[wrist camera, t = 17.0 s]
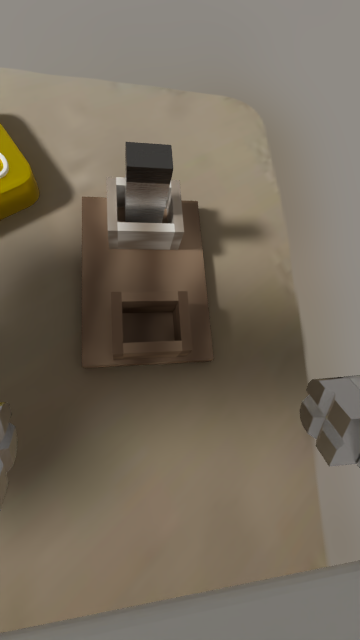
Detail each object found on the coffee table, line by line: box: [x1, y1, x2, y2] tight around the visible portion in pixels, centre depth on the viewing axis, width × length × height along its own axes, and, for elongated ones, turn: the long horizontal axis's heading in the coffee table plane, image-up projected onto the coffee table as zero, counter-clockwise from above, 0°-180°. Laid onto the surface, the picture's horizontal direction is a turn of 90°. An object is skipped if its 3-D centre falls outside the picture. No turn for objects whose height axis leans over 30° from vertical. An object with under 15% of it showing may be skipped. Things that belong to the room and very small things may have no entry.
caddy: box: [82, 177, 214, 368], centre depth 36 cm, size 14×20×6 cm
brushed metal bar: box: [125, 142, 173, 223], centre depth 33 cm, size 4×2×11 cm, turn 95°
